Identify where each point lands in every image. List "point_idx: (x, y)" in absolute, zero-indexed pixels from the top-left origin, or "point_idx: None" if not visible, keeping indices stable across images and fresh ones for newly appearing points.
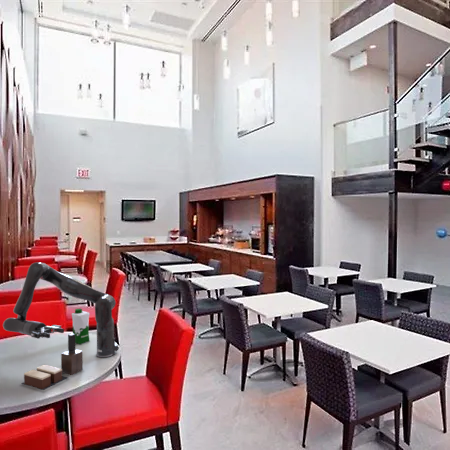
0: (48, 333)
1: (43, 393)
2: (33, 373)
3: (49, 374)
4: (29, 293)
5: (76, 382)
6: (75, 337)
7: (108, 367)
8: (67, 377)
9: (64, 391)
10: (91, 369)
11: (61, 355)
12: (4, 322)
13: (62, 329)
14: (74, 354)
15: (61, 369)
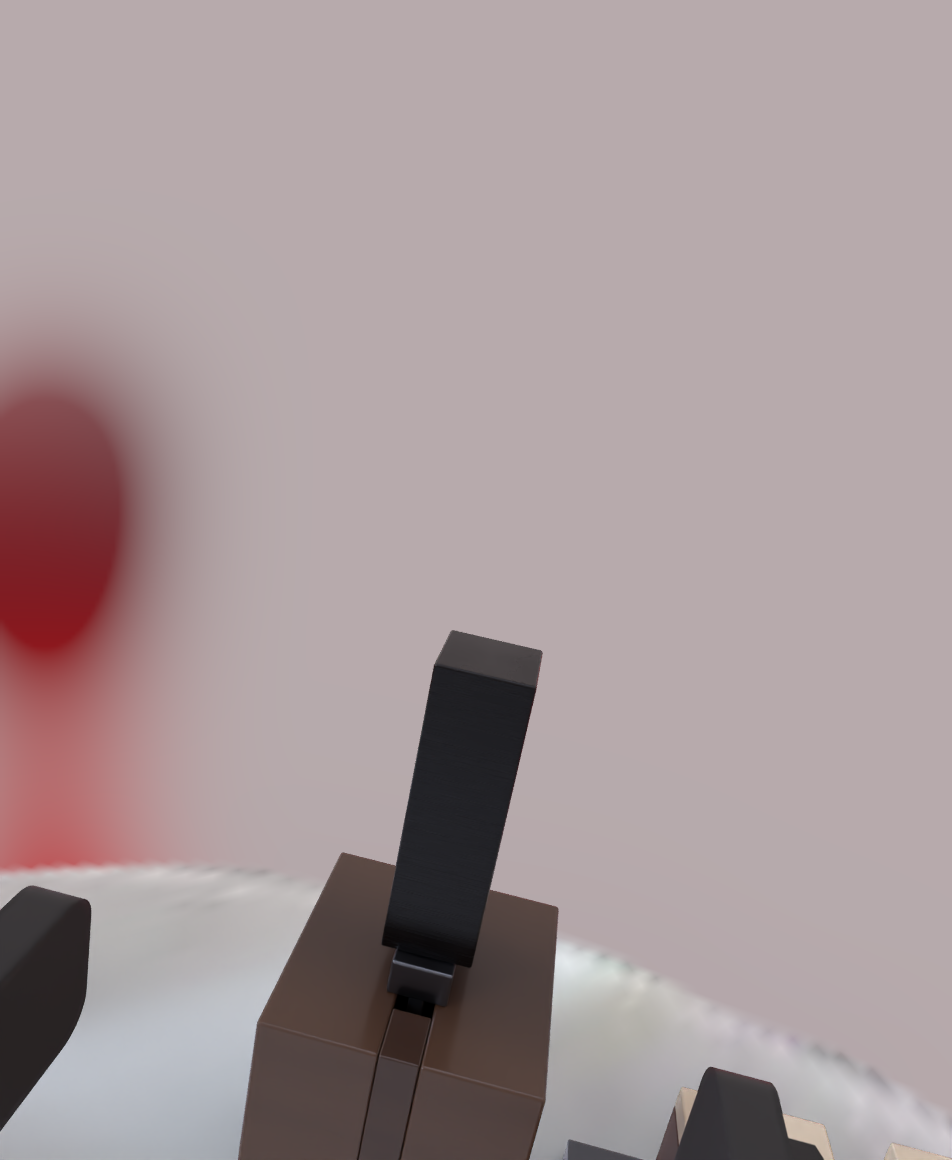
0: (746, 1107)
1: None
2: None
3: (906, 1153)
4: None
5: (587, 1030)
6: None
7: (166, 888)
8: (571, 1157)
9: (788, 1047)
10: (227, 1024)
11: (536, 1124)
12: None
13: (85, 906)
14: (497, 893)
15: (690, 1092)
